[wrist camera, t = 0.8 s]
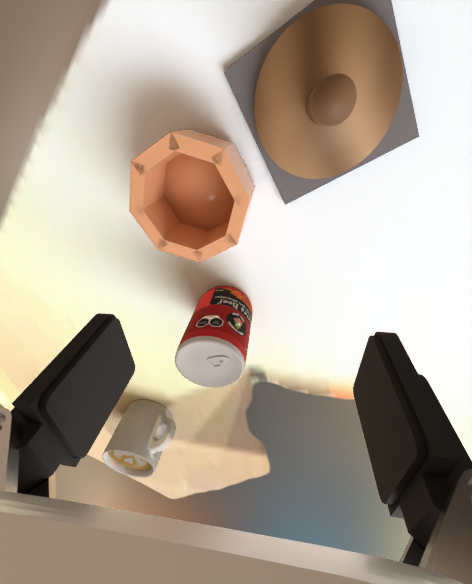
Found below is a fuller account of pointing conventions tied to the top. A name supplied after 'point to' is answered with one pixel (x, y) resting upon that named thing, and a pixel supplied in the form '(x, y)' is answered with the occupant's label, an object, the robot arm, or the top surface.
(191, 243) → the bowl
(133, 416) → the coffee mug
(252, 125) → the mat
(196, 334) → the canned food
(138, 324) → the top surface
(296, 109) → the lid
